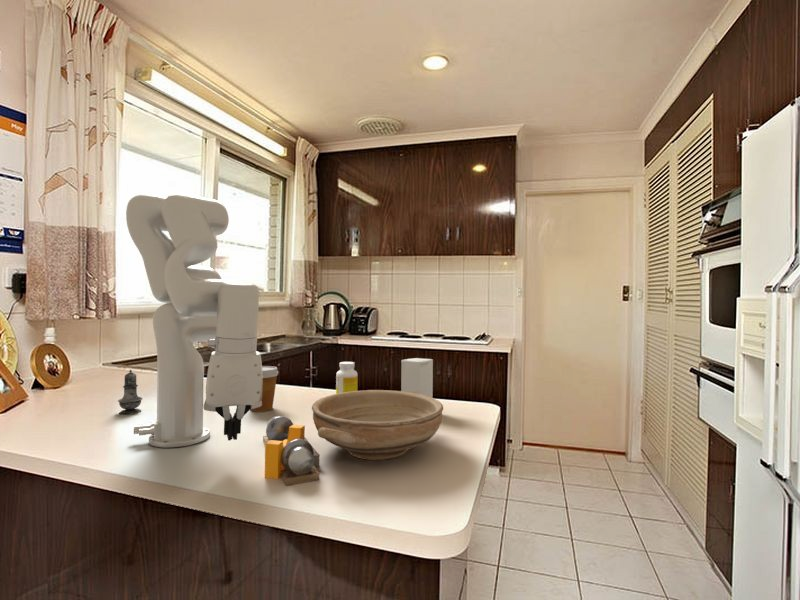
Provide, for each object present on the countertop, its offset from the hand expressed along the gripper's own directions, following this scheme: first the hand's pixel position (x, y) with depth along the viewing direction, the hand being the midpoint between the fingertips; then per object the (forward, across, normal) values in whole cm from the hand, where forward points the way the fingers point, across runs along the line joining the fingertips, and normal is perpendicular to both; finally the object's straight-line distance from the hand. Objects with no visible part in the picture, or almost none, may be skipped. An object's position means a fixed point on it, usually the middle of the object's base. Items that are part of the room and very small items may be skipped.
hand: (231, 437), depth 85 cm
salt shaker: (+9, -22, +51) cm, 56 cm away
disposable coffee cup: (+8, +12, +40) cm, 43 cm away
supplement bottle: (+7, +37, +36) cm, 52 cm away
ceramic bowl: (+4, +30, -4) cm, 31 cm away
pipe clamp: (+5, +9, -5) cm, 11 cm away
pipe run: (+5, +11, -2) cm, 12 cm away
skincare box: (+5, +52, +18) cm, 55 cm away
